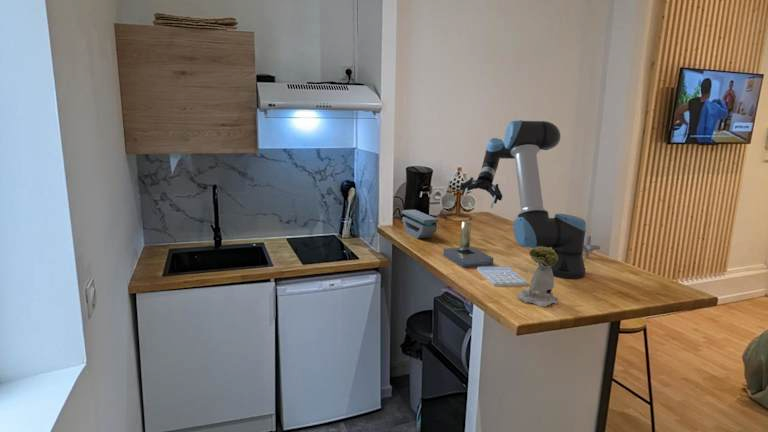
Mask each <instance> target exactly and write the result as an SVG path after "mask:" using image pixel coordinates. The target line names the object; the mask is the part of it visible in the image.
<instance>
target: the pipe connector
mask: <svg viewBox="0 0 768 432" xmlns="http://www.w3.org/2000/svg"><path fill="white" fill-rule="evenodd" d="M585 239H586V240H585V241H584V247H583V250H584V256H583V257H585V258H584V259H587V258H588V259H589V257H590V253H593V252H594V250H596V251H597V250H599V251H600V250H601V246H600V245H593V244H591V243H592V242H591V241H592V236H591V235H586V238H585Z"/></svg>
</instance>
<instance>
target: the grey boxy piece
mask: <svg viewBox="0 0 768 432" xmlns="http://www.w3.org/2000/svg"><path fill="white" fill-rule="evenodd" d="M401 214H403V215H404V216H402V224H403V227H404V229H405V233H406V234H407V235H409V236H410V237H413V238H415V239H416V240H418V239H431V238H432V237H433V235H434V234H435V233H436V231H437V230H438V225H437V224H435V223H439V219H438V218H436V217H434V216H432V215H429V214H426V213H424V212H421V210H417V209H404V210H403V209H402V210H401Z"/></svg>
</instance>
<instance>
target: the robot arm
mask: <svg viewBox="0 0 768 432" xmlns="http://www.w3.org/2000/svg"><path fill="white" fill-rule="evenodd" d="M560 140H561V132H560V129H559V127H557V126H556V125H555V124H554V123H553V122H549V121H544V120H541V121H539V120H522V119H521V120H512V121H510V122H508V125H507V126H506V128H505V133H504V137H503V139H501V138H497V137H492V138H490V139H489V140H488V142H487V145H486V149H485V153H484V157H483V162H482V165H481V168H480V171H479V174H478V176H477V179H474V177H470V178H469V179H468V180H467V181H465V182H463V183H461V184H460V186H459V190H460V191H462V192H461V195H462V199H461V200H462V201H464V200H465V199H466V196H467V193H468V191H472V190H474V189H475V190H477V189H480V190H483V191H486V192H487V193H488V194H489V195H491V197H492V198H493V199H492V202H491V206H490V209H493V208H494V204H495V205H496V204H497V202H498V201H502V200H503V194H502V192H501V190H500V188H499V184H498V183H496V184H493V182H494V178H495V175H496V172H497V170H498V167H499V163H500V159H505V160H506V159H508V160H509V159H511V160H512V159H513V160H514V162H515V169H516V170H515V171H516V177H517V178H516V179H517V187H518V196H519V197H518V198H519V205H520V211H519V213H518V214H517V218H515V220H514V222H513V234H514V238H515V241H516V242H517V244H518V245H519V246H520V247H523V248H529V249H532V248H533V247H534V248H535V247H541V246H542V247H548V248H551V249H553V250H554V251H555V252H556V254H557V256H558V261H557V262H556V263H555V265H554V266H551V269H552V272H553V277H556V278H561V279H563V278H564V279H570V280H571V279H573V280H574V279H582V278H585V276H586V268H585V263H584V262H585V261H584V258H583V257H584V256H583V254H584V249H583V247H584V242H585V239H586V238H585V236H586V231H587V222H586V220H584V218H581V217H579V216H575V215H570V214H566V213H555V214H554V217H550V216H549V211H548V210H546V209H545V208H544V202H543V201H544V200H543V195H542V186H541V178H540V172H539V163H538V157H537V154H538V153H539V152H541V151H542V150H543V151H548V150H552V149H554V148H556V147H557V146H558V144H559V142H560Z"/></svg>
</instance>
